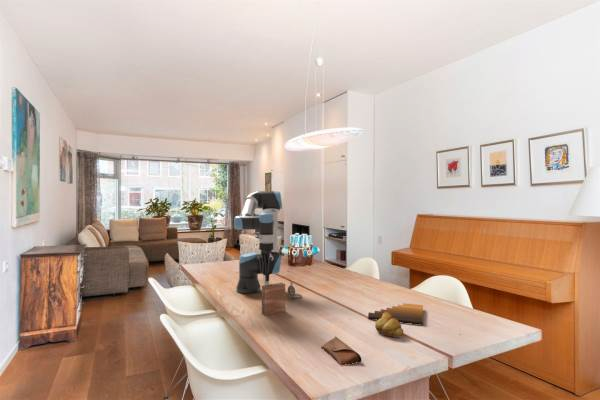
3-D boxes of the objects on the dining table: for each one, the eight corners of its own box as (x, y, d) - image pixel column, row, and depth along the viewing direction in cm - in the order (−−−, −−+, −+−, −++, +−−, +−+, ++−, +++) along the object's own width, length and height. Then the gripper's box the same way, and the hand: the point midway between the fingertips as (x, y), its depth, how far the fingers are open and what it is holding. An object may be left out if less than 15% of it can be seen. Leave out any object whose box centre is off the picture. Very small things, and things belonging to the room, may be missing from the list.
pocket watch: (303, 296, 207) (303, 279, 207) (298, 300, 199) (298, 282, 199) (290, 295, 210) (290, 278, 210) (285, 298, 202) (285, 281, 202)
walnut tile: (261, 313, 176) (261, 285, 176) (281, 308, 183) (281, 282, 183) (265, 315, 173) (265, 287, 173) (285, 310, 180) (285, 283, 180)
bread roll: (408, 337, 146) (408, 318, 146) (390, 341, 142) (390, 322, 142) (388, 327, 158) (388, 309, 158) (370, 331, 154) (371, 312, 154)
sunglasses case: (318, 346, 137) (325, 330, 138) (331, 352, 139) (338, 337, 141) (341, 367, 120) (350, 349, 122) (356, 373, 123) (364, 356, 124)
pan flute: (368, 320, 168) (422, 327, 160) (368, 313, 168) (422, 319, 160) (375, 305, 192) (422, 310, 183) (375, 299, 192) (423, 304, 183)
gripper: (253, 241, 187) (253, 285, 187) (266, 244, 176) (266, 290, 177) (265, 240, 191) (265, 283, 191) (279, 243, 181) (278, 288, 181)
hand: (266, 286), depth 184 cm, fingers closed
